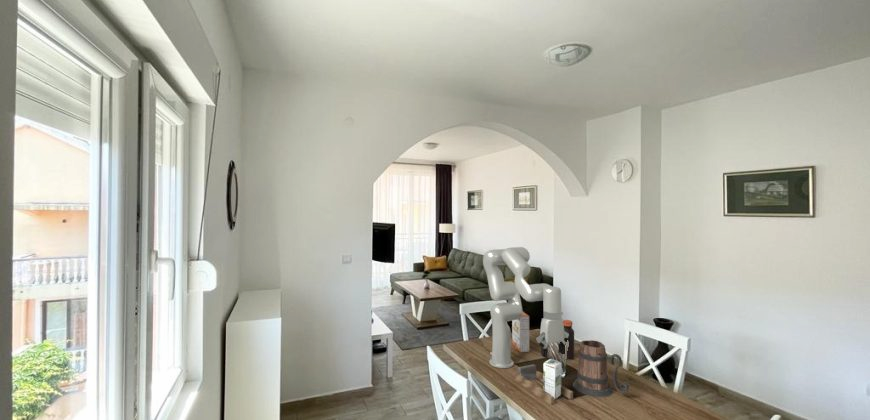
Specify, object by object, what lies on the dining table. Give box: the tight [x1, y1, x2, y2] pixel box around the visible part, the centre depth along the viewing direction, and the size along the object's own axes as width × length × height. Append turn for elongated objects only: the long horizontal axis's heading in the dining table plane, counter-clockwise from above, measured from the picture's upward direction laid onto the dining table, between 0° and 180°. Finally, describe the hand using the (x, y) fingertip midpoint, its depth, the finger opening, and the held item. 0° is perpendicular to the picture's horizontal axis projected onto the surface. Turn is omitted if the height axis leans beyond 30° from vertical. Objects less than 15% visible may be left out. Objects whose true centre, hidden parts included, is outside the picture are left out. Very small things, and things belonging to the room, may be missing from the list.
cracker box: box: [511, 310, 530, 353], centre depth 213 cm, size 14×6×21 cm, turn 6°
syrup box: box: [542, 358, 563, 400], centre depth 158 cm, size 6×6×14 cm
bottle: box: [562, 319, 575, 360], centre depth 199 cm, size 7×7×20 cm
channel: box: [515, 363, 574, 406], centre depth 163 cm, size 24×12×6 cm, turn 24°
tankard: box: [572, 339, 630, 398], centre depth 163 cm, size 24×17×20 cm
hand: (553, 355), depth 157 cm, fingers open, 9 cm apart
